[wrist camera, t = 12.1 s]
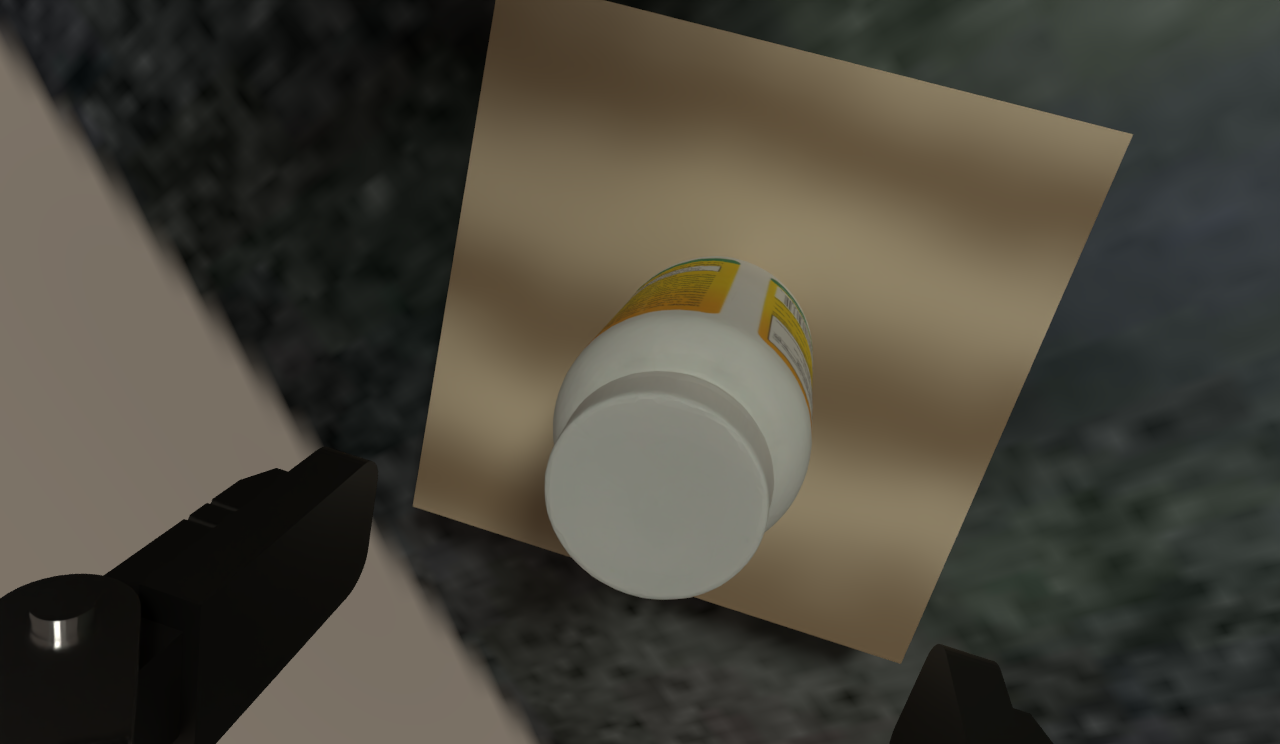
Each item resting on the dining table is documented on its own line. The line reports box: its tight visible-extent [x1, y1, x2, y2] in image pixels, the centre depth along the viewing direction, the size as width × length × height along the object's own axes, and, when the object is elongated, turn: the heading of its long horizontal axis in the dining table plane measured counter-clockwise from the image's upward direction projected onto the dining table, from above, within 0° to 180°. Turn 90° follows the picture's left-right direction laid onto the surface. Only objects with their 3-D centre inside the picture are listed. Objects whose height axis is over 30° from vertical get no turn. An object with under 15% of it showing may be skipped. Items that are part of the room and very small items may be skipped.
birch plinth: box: [413, 0, 1133, 664], centre depth 25 cm, size 16×16×3 cm
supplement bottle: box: [544, 256, 813, 600], centre depth 19 cm, size 5×5×10 cm
